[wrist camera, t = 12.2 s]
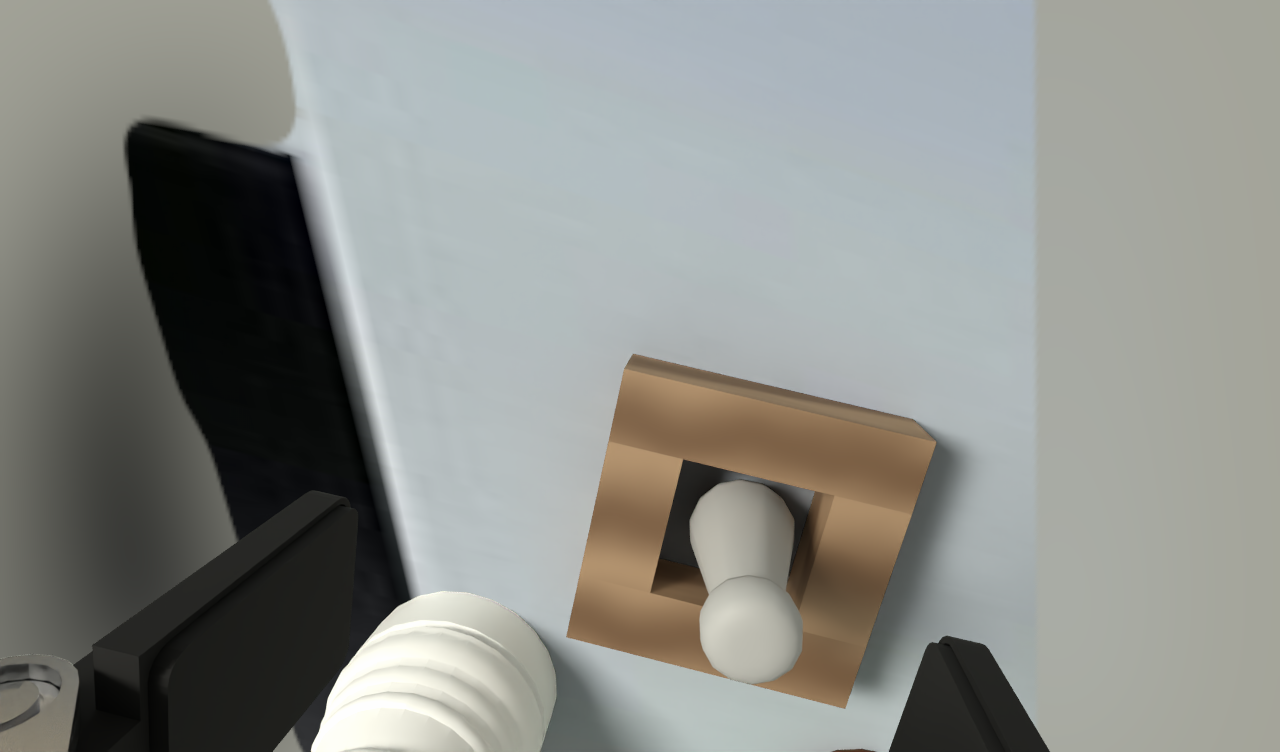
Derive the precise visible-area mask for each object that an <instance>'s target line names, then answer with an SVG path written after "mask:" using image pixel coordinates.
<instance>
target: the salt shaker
mask: <svg viewBox="0 0 1280 752" xmlns="http://www.w3.org/2000/svg"><path fill="white" fill-rule="evenodd" d="M690 542H691V545H692V548H693V551H694V554H695V557H696V559H697V562H698V565H699V568H700V571H701V574H702V577H703V579H704V582H705V585H706V588H707V591H708V594H709V596H708V598H707V599H706V601H705V603H704V605H703V607H702V609H701V611H700V619H699V621H700V641H701V645H702V648H703V651H704V652H705V654H706V656H707V658H708V660H709V661H710V663H711V665H712V667H713V668H715V669H716V670H717V671H719V672H720V673H722V674H723V675H725V676H726V677H728V678H729V679H730V680H735V681H739V682H743V683H747V684H752V685H753V684H759V683H764V682H770V681H774V680H776V679H778V678H779V677H781V676H782V675H784V674H785V673H787V672H788V671H790V670H791V669H792V668H793V666H794V665H795V663H796V661H797V659H798V657H799V656H800V654H801V652H802V638H803V620H802V618H801V615H800V612H799V610H798V609H797V607H796V605H795V603H794V601H793V600H792V598H791V596H790V594H789V593H788V592H786V585H787V579H788V573H789V567H790V562H791V556H792V550H793V544H794V518H793V517H792V515H791V513H790V511H789V509H788V508H787V506H786V504H785V502H784V500H783V499H782V498H781V497H780V496H779V495H778V494H776V493H775V492H774V491H772V490H771V489H770V488H768V487H767V486H766V485H764V484H763V483H757V482H752V481H747V480H742V479H738V480H734V481H729V482H723V483H719V484H717V485H716V486H714V487H713V488H712V489H711V490H709V491H708V492H707V493H705V494H704V495H703V496H701V497H700V499H699V501H698V503H697V505H696V507H695V509H694V511H693V513H692V515H691V518H690Z"/></svg>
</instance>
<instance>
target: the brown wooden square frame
mask: <svg viewBox="0 0 1280 752" xmlns="http://www.w3.org/2000/svg"><path fill="white" fill-rule="evenodd" d="M936 443H937V442H936V441H935V440H934V439H933V438H932V437H931V436H930V435H929V434H928V433H927V432H926V431H925V430H923V429H922V428H921V427H920V426H919V425H918V424H917V423H916V422H915V421H914V420H913V419H909V418H905V417H901V416H897V415H892V414H888V413H884V412H880V411H875V410H871V409H867V408H862V407H858V406H854V405H850V404H845V403H841V402H837V401H833V400H828V399H824V398H820V397H815V396H811V395H807V394H803V393H798V392H794V391H790V390H786V389H781V388H777V387H773V386H768V385H764V384H760V383H756V382H751V381H747V380H743V379H739V378H734V377H730V376H726V375H721V374H717V373H713V372H709V371H704V370H700V369H696V368H692V367H687V366H683V365H679V364H674V363H670V362H666V361H662V360H657V359H653V358H649V357H645V356H640V355H636V354H633V355H632V357H631V358H630V360H629V362H628V363H627V365H626V367H625V368H624V372H623V377H622V382H621V386H620V391H619V396H618V400H617V405H616V409H615V414H614V419H613V423H612V428H611V433H610V437H609V442H608V446H607V451H606V456H605V460H604V465H603V470H602V474H601V479H600V483H599V488H598V493H597V497H596V502H595V507H594V511H593V516H592V520H591V525H590V530H589V534H588V539H587V544H586V548H585V553H584V557H583V562H582V567H581V571H580V576H579V581H578V585H577V590H576V594H575V599H574V604H573V608H572V613H571V618H570V622H569V627H568V631H567V636H566V637H568V638H572V639H576V640H580V641H584V642H588V643H592V644H595V645H599V646H603V647H607V648H611V649H615V650H619V651H623V652H627V653H630V654H634V655H638V656H642V657H646V658H650V659H654V660H658V661H662V662H665V663H669V664H673V665H677V666H681V667H685V668H689V669H693V670H697V671H700V672H704V673H708V674H712V675H716V676H720V677H724V678H728V677H726V676H725V675H723V674H722V673H720V672H719V671H717V670H716V669H715V668H713V667H712V665H711V663H710V661H709V660H708V658H707V656H706V654H705V652H704V651H703V648H702V645H701V641H700V621H699V619H700V611H701V609H702V607H703V605H704V603H705V601H706V599H707V598H708V596H709V594H708V591H707V588H706V585H705V582H704V579H703V577H702V574H701V571H700V568H696V567H692V566H688V565H684V564H680V563H676V562H672V561H668V560H664V559H660V558H659V555H660V551H661V547H662V543H663V539H664V535H665V531H666V527H667V523H668V519H669V514H670V510H671V506H672V502H673V498H674V494H675V490H676V486H677V482H678V478H679V474H680V470H681V466H682V462H683V459H684V460H688V461H692V462H696V463H701V464H705V465H709V466H713V467H717V468H721V469H726V470H730V471H734V472H738V473H742V474H746V475H750V476H755V477H759V478H763V479H767V480H771V481H775V482H779V483H784V484H788V485H792V486H796V487H800V488H804V489H808V490H813V491H815V493H814V496H813V500H812V503H811V506H810V509H809V513H808V516H807V519H806V523H805V526H804V529H803V533H802V536H801V539H800V543H799V546H798V549H797V552H796V556H795V559H794V562H793V566H792V569H791V572H790V576H789V579H788V582H787V586H786V592H788V593H789V594H790V596H791V598H792V600H793V601H794V603H795V605H796V607H797V609H798V610H799V612H800V615H801V618H802V620H803V638H802V652H801V654H800V656H799V657H798V659H797V661H796V663H795V665H794V666H793V668H792V669H791V670H790V671H788V672H787V673H785V674H784V675H782V676H781V677H779V678H778V679H776V680H774V681H770V682H764V683H759V684H753V685H755V686H759V687H763V688H767V689H770V690H774V691H778V692H782V693H786V694H790V695H794V696H798V697H802V698H805V699H809V700H813V701H817V702H821V703H825V704H829V705H833V706H837V707H840V708H844V709H845V707H846V705H847V702H848V699H849V696H850V693H851V690H852V687H853V684H854V681H855V678H856V675H857V673H858V670H859V667H860V664H861V661H862V658H863V655H864V652H865V649H866V646H867V643H868V641H869V638H870V635H871V632H872V629H873V626H874V623H875V620H876V617H877V614H878V611H879V609H880V606H881V603H882V600H883V597H884V594H885V591H886V588H887V585H888V582H889V580H890V577H891V574H892V571H893V568H894V565H895V562H896V559H897V556H898V553H899V550H900V548H901V545H902V542H903V539H904V536H905V533H906V530H907V527H908V524H909V521H910V518H911V516H912V513H913V510H914V507H915V504H916V501H917V498H918V495H919V492H920V489H921V486H922V484H923V481H924V478H925V475H926V472H927V469H928V466H929V463H930V460H931V457H932V455H933V452H934V449H935V446H936ZM728 679H729V678H728ZM751 685H752V684H751Z"/></svg>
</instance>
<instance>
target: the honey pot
mask: <svg viewBox="0 0 1280 752" xmlns="http://www.w3.org/2000/svg"><path fill="white" fill-rule="evenodd" d="M556 698H557V689H556V673H555V670H554V667H553V664H552V661H551V658H550V655H549V652H548V650H547V649H546V647H545V646H544V644H543V643H542V641H541V639H540V638H539V636H538V635H537V633H536V632H535V630H533V629H532V628H531V627H530V626H529V625H528V624H527V623H526V622H525V621H524V620H523V619H522V618H521V617H519V616H518V615H517V614H516V613H515V612H513V611H511V610H509V609H508V608H506V607H504V606H502V605H501V604H499V603H497V602H495V601H494V600H491V599H488V598H484V597H481V596H478V595H474V594H471V593H466V592H447V591H441V592H436V593H431V594H426V595H421V596H418V597H416V598H414V599H412V600H410V601H408V602H406V603H404V604H402V605H400V606H398V607H397V608H396V609H395V610H394V611H393V612H392V613H391V614H390V615H389V616H388V617H387V618H386V619H385V620H384V621H383V622H382V623H381V624H380V625H379V626H378V628H377V629H376V630H375V631H374V632H373V634H372V635H371V636H370V637H369V638H368V640H367V641H366V642H365V643H364V645H363V646H362V647H361V648H360V649H359V651H358V652H357V653H356V655H355V656H354V657H353V658H352V659H351V661H350V663H349V664H348V665H347V666H346V667H345V668H344V669H343V670H342V672H341V674H340V676H339V678H338V680H337V682H336V684H335V685H334V687H333V689H332V691H331V693H330V695H329V697H328V701H327V707H326V713H325V716H324V718H323V720H322V722H321V726H320V731H319V733H318V735H317V737H316V739H315V741H314V743H313V745H312V750H311V752H540V751H541V747H542V744H543V741H544V738H545V735H546V732H547V729H548V726H549V723H550V719H551V716H552V712H553V709H554V705H555V701H556Z"/></svg>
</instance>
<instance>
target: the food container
mask: <svg viewBox="0 0 1280 752" xmlns="http://www.w3.org/2000/svg"><path fill="white" fill-rule="evenodd" d="M832 752H875V751H870V750H865V749H850V750H835V751H832Z"/></svg>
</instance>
